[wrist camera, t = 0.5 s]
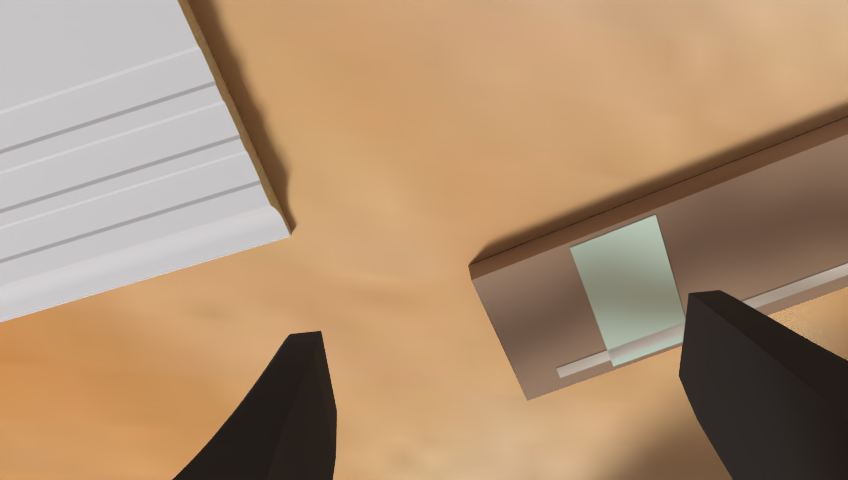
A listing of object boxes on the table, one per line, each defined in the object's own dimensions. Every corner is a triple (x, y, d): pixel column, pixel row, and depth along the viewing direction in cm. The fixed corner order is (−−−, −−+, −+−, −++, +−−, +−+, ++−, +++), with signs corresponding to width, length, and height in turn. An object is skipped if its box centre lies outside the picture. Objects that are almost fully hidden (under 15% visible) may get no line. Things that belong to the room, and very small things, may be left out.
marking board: (1049, 193, 24) (1076, 205, 23) (522, 383, 27) (527, 401, 26) (1056, 35, 21) (1086, 42, 20) (468, 265, 24) (471, 280, 23)
